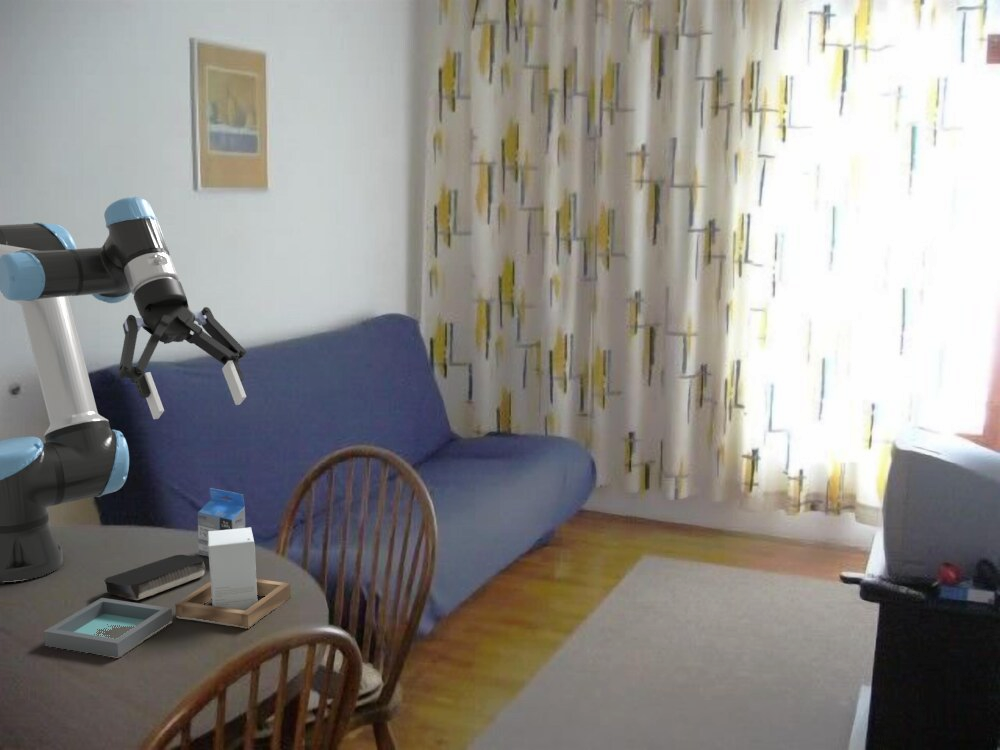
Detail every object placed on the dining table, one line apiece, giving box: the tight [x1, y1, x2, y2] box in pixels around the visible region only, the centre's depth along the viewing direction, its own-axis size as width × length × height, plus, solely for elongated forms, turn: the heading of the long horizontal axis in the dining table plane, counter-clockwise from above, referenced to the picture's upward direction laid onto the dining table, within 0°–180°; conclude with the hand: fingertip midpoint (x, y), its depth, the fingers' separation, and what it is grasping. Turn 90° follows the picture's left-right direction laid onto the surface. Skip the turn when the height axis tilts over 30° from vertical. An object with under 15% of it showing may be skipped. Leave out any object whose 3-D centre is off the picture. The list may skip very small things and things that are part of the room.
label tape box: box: [197, 487, 246, 558], centre depth 201 cm, size 9×4×12 cm, turn 60°
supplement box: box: [208, 526, 259, 611], centre depth 178 cm, size 7×7×13 cm
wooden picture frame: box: [174, 578, 292, 627], centre depth 179 cm, size 13×13×2 cm
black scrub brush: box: [103, 554, 207, 601], centre depth 188 cm, size 16×8×4 cm, turn 143°
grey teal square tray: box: [43, 597, 173, 657], centre depth 169 cm, size 13×13×2 cm
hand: (201, 408), depth 164 cm, fingers open, 13 cm apart
